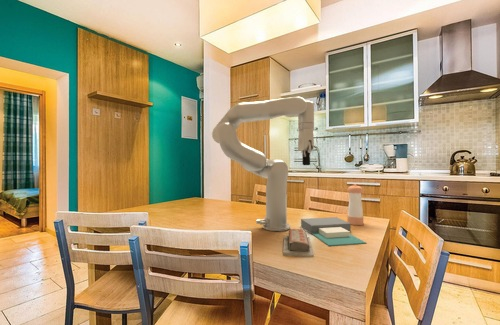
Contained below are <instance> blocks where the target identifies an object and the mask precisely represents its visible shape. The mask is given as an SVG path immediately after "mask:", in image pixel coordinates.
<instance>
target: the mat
mask: <svg viewBox="0 0 500 325" xmlns="http://www.w3.org/2000/svg"><path fill="white" fill-rule="evenodd" d="M311 235H313V236H314V237H315V238H317V239H318V240H320V241H321V242H322V243H324V244H325V245H326V246H328V247H335V246H336V247H338V246H350V245H351V246H352V245H363V244H367V242H366V241H364V240H363V239H360V238H359V237H357V236H355V235H353V234H351V233H350V237H335V238H326V237H324V236H323V235H321V234H320V233H312V234H311Z"/></svg>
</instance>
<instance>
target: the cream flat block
mask: <svg viewBox="0 0 500 325" xmlns="http://www.w3.org/2000/svg"><path fill="white" fill-rule="evenodd" d="M319 233H320V234H321V235H323V236H324V237H326V238H335V237H350V234H351V233H350V231H348V230H346V229H344V228H342V227H329V228H319Z"/></svg>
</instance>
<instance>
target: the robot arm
mask: <svg viewBox="0 0 500 325" xmlns="http://www.w3.org/2000/svg"><path fill="white" fill-rule="evenodd" d="M283 116H284V117H287V118H296V117H297V120H298V122H297V124H298V128H297V130H298V137H297V151H298V152H300V153H301V155H302V165H303V166H310V165H311V153H312V151H313V150H314V149H315V139H314V138H315V137H314V136H315V135H314V130H315V103H314V102H313V101H312V100H311V101H310V100H306V99H305V98H303V97H301V96H291V97H282V98H278V99H277V98H276V99H275V98H274V99H269V100H263V101H249V102H239V103H236V104H235V105H233V106H232V107H231V108H230V109H228V110H227V112H226V113H225V114H224V115H223V117H222V118H221V119H220V120H219V121H218V122H217V124H216V125H215V126H214V128H212V129H213V130H212V133H211V135H212V136H211V137H212V139H213V141H214V142H215V143H217V144H219V146H220V148H221V150H222V152H223V154H224V155H225V156H226V157H227V158H228V159H230V160H232V161H234V162H236V163H238V164H240V167H242V168H243V169H244V170H245V171H248V172H249V173H251V174H254V175H256V176H258V177H261V178H264V179H265V180H267V181H266V184H265V186H266V187H265V216H264V218H262V219H256V220H255V223H256V225H260V226H261V225H262V228H263V229H264V230H267V231H271V232H283V231H284V232H285V231H289V229H291V224H289V223H288V219H287V218H288V217H287V216H288V215H287V214H288V213H287V212H288V209H287V205H288V204H287V203H288V202H287V200H288V199H287V198H288V197H287V196H288V195H287V187H288V178H289V167H288V165H287V164H286V162H285V161H284V160H282V159H277V158H276V159H275V158H274V159H268V157H267V156H266V155H265V153H263V152H262V151H260V150H259V149H256V148H253V147H250V146H249V145H247V144H246V143H243V142H242V141H241V140H240V139H239V137H238V133H237V130H238V128H239V127H240V125H241V124H244V123H252V122H261V121H267V120H273V119H276V118H278V117H283Z"/></svg>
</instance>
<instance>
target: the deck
mask: <svg viewBox="0 0 500 325" xmlns="http://www.w3.org/2000/svg"><path fill="white" fill-rule="evenodd" d="M300 226H301V228H303V230H305V231H306V232H309V233H310V234H311V235H312V233H319V228H329V227H342V228H344V229H346V230H348V231H350V232H352V231H351V227H352V224H351V223H348V222H347V220H344V219H342V218H339V217H337V216H334V217H333V216H332V217H330V216H329V217H312V218H309V217H308V218H300Z"/></svg>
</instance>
